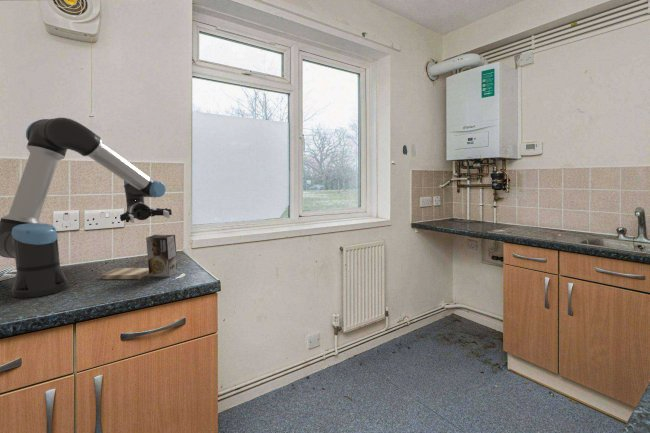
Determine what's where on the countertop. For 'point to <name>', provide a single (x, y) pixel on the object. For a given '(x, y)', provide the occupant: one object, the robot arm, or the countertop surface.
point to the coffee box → (161, 255)
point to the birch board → (126, 273)
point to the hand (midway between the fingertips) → (151, 217)
